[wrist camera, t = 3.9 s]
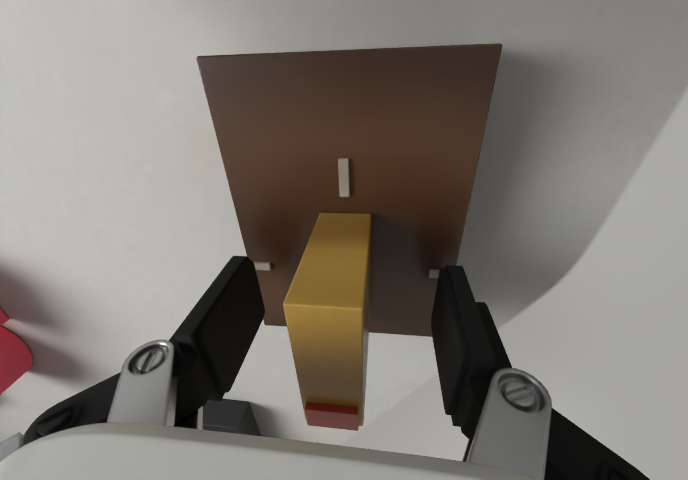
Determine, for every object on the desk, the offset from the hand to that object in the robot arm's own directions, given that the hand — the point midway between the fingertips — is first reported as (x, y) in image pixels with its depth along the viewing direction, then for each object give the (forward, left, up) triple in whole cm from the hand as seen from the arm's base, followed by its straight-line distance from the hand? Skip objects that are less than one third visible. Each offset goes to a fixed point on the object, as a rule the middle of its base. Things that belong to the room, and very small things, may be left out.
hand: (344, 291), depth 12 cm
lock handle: (0, 0, -1) cm, 1 cm away
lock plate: (-2, 0, -4) cm, 5 cm away
